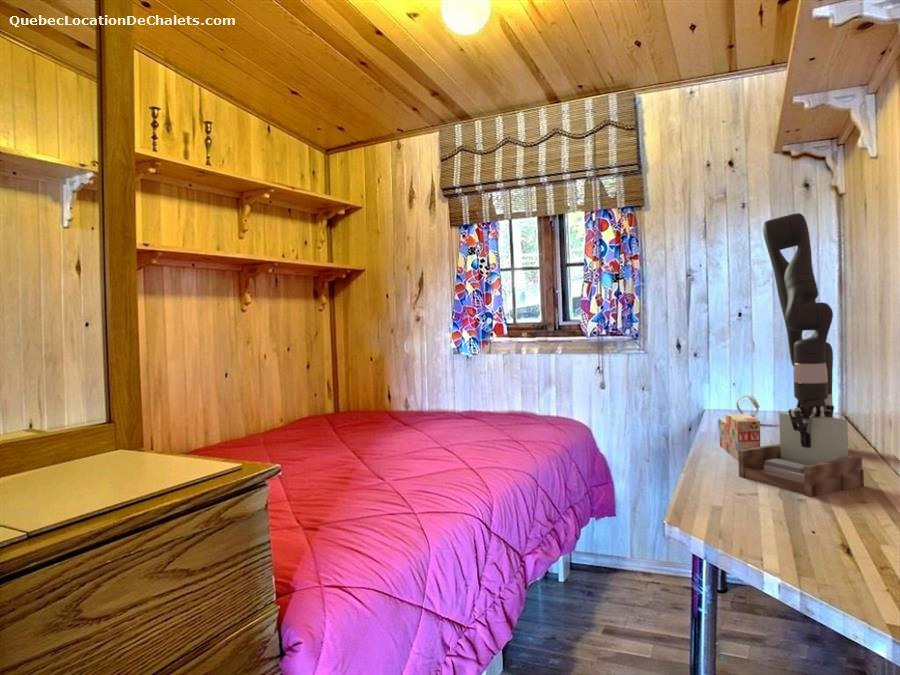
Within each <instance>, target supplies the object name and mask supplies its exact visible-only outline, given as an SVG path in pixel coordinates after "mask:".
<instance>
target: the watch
mask: <svg viewBox="0 0 900 675" xmlns="http://www.w3.org/2000/svg"><path fill="white" fill-rule="evenodd" d="M742 398H748V399H749V400H750V402H751V404H752V405H753V406H754V408H755V409H756V411H755V412H754V413H752V414H749V415H750V416H752V417H755V416H756V415H757V414H758V412H759V410H760V409H759V408H760V405H759V403H758V401H757V400H756V399H755V397H754V396H753V395H752V396H751V395H746V394H745V395H741V396H740V397H739V398H737V401H736V405H735V406H736V409H737V411H738V412H739V414H744V411H742V410H741V408H740V406H739V401H740V400H741V399H742Z"/></svg>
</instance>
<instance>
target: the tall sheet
mask: <svg viewBox="0 0 900 675" xmlns="http://www.w3.org/2000/svg"><path fill="white" fill-rule="evenodd" d="M778 414H779V416H778V417H779V419H778V421H779V444H780V452H781V459H783V460H788V461H792V462H796V463H800V464H805V465H812V464H817V463H823V462H828V461H834V460H840V459H845V458H849V437H848V436H849V434H848V419H843V418H836V417H834V418H830V417H824V416H823V417H814V418H812V425H811V430H810V434H811V447H810V448H806V447H802V445H801V435H800V432H799V431H795V430H794V429H793V426H792V423H791V419H790V416H789V412H788V411H786V412H785V411H784V412H779V413H778ZM802 420H804V421H808V420H809V419H804V418H803V417H802ZM797 425H798V424H797ZM798 426H799V425H798ZM804 427H805V428H806V424H805V423H804Z"/></svg>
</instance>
